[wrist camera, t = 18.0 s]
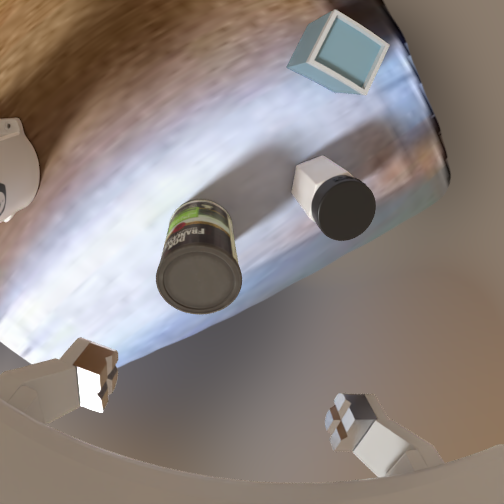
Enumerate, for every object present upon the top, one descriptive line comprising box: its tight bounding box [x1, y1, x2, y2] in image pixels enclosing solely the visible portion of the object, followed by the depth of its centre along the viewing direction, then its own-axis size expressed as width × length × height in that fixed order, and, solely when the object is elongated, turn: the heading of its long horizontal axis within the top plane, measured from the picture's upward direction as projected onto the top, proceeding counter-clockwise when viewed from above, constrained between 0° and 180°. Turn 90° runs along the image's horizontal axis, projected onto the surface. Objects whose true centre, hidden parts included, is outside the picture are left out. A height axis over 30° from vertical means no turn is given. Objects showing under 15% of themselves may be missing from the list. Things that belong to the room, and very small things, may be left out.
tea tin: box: [287, 10, 390, 95], centre depth 31 cm, size 8×8×10 cm
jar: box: [291, 155, 376, 241], centre depth 40 cm, size 9×8×12 cm
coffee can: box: [156, 200, 242, 314], centre depth 41 cm, size 10×10×14 cm
